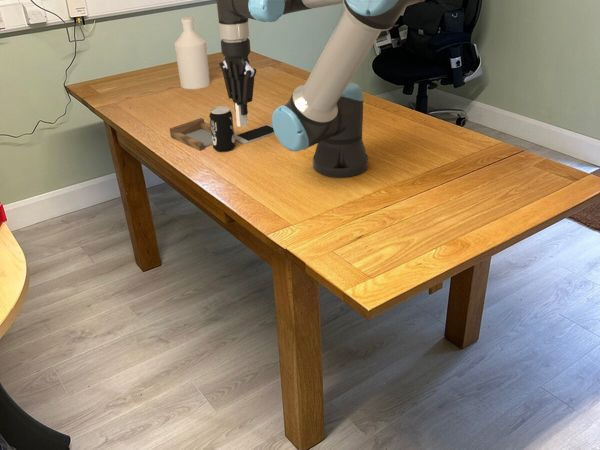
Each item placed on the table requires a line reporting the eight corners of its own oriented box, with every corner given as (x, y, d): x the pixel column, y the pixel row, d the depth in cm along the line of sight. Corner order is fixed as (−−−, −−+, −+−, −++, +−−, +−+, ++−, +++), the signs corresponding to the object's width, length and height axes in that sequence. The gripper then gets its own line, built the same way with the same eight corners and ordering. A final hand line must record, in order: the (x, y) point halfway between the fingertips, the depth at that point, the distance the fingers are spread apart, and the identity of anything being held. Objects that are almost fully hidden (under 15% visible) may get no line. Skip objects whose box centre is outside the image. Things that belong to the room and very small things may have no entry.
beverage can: (231, 153, 171) (227, 114, 165) (210, 152, 172) (205, 113, 166) (238, 144, 177) (234, 106, 170) (217, 143, 178) (213, 105, 172)
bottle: (208, 88, 224) (200, 21, 212) (177, 89, 225) (167, 22, 212) (212, 79, 235) (205, 14, 222) (183, 80, 235) (174, 15, 222)
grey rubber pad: (225, 139, 180) (225, 138, 180) (203, 148, 175) (202, 146, 175) (202, 130, 188) (202, 129, 187) (180, 137, 183) (180, 136, 182)
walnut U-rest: (231, 138, 180) (231, 129, 179) (200, 150, 173) (198, 141, 172) (202, 126, 190) (201, 117, 189) (171, 137, 183) (169, 128, 182)
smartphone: (230, 139, 181) (230, 136, 181) (270, 126, 190) (269, 123, 189) (244, 145, 177) (243, 142, 176) (283, 131, 185) (283, 129, 185)
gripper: (262, 39, 149) (268, 127, 161) (230, 32, 157) (238, 116, 169) (239, 45, 145) (247, 135, 157) (208, 37, 153) (217, 123, 165)
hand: (242, 125), depth 163 cm, fingers closed
